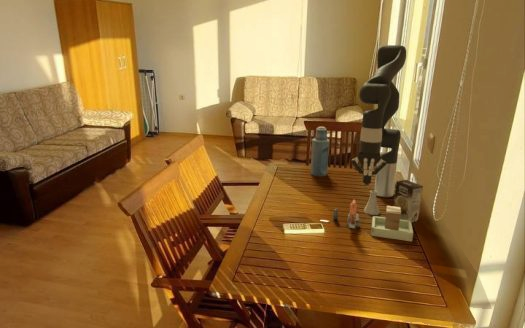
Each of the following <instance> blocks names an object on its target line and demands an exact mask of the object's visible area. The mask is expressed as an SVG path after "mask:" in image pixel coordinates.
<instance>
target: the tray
mask: <svg viewBox="0 0 525 328" xmlns="http://www.w3.org/2000/svg"><path fill="white" fill-rule="evenodd" d="M385 219H386V216H385V217H384V216H378V215H372V218H371V220H372V221H371V232H370V236H372V237H379V238H385V239H392V240H399V241H400V240H401V241H407V242H413V238H414V230H413V225H412V222H411V221H408V220H400V222H399V230H392V229H385Z"/></svg>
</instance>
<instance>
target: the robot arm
mask: <svg viewBox="0 0 525 328" xmlns="http://www.w3.org/2000/svg"><path fill="white" fill-rule="evenodd" d="M406 59H407V48H406V47H405V46H404V45H400V44H397V45H394V44H393V45H392V44H389V45H388V44H385V45H380V46H379V47H378V50H377V53H376V65H377V69H376V71H375V72H374V74H373V75H372V77H371V78H370V79H368V80H366V82H364V83H363V84H362V86H361V88H360V89H359V93H358V97H359V99H360V101H361V102H362V103H363V104H368V105H370V104H371V105H377V108H376V109H370V110H365V111H364V112H363V115H362V122H361V130H360V136H359V148H358V149H359V150H358V153H357V156H356V157H354V158H352V159H351V163H352V164H353V167H354V166H355V168H356V169H357V170H356V171H357V172H358V173H359V174H361V175H362V183H363V184H364V186H366V185H367V186H369V184H371V183H372V176H374V175H375V180H374V191H377V194H376V197H377V196H378V197H381V198H390V197H393V196H394V193H395V185H396V175H397V174H396V173H397V167H398V166H397V164H398V155H399V147H400V144H401V138H402V137H401V135H402V133H401V131H400V130H399V129H397V128H395V129H393V128H385V127H386V125H387V123H388V122H389V120H391V119H392V117H393V116H394V115H395V114H396V113H397V112H398V110H399V106H400V92H399V90H398V88H397V86H396V85H395V84H394V83H393V79H394V78H395V77H396V75H398V73H399V72H400V71H401V70H402V68H403V67H404V65H405V63H406ZM381 148H383V149H384V148H386V149H391V150H390V151H387V152H383V153H381V150H382V149H381ZM359 162H360V164H359ZM359 165H362V166H364V170H362V169H361V167H360V166H359ZM375 166H376V168H374V167H375Z"/></svg>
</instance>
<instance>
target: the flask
mask: <svg viewBox="0 0 525 328" xmlns="http://www.w3.org/2000/svg"><path fill="white" fill-rule="evenodd" d="M369 193H370V194H369V199H368V201H367V203H366V205H365V207H364V209H363V212H364V213H365V214H366V215H369V216H370V215H371V216H379V215H380V213H381V211H380V207H379V204H378V199H377V195H376V194H377V191H374V190H370V191H369Z"/></svg>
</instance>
